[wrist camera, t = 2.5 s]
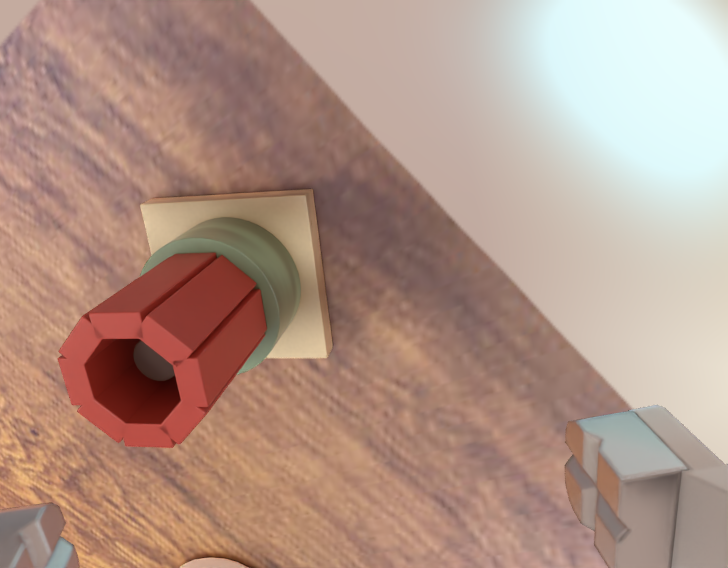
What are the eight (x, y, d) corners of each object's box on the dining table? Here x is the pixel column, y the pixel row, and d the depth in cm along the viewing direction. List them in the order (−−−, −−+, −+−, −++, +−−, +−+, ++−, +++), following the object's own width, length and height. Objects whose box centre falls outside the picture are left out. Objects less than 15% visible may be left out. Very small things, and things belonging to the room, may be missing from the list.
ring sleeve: (138, 254, 32) (43, 313, 25) (254, 250, 30) (187, 310, 24) (164, 364, 34) (83, 445, 27) (273, 364, 33) (217, 449, 26)
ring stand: (152, 198, 36) (25, 257, 26) (312, 188, 34) (241, 248, 24) (185, 347, 40) (85, 450, 30) (333, 347, 38) (278, 456, 28)
